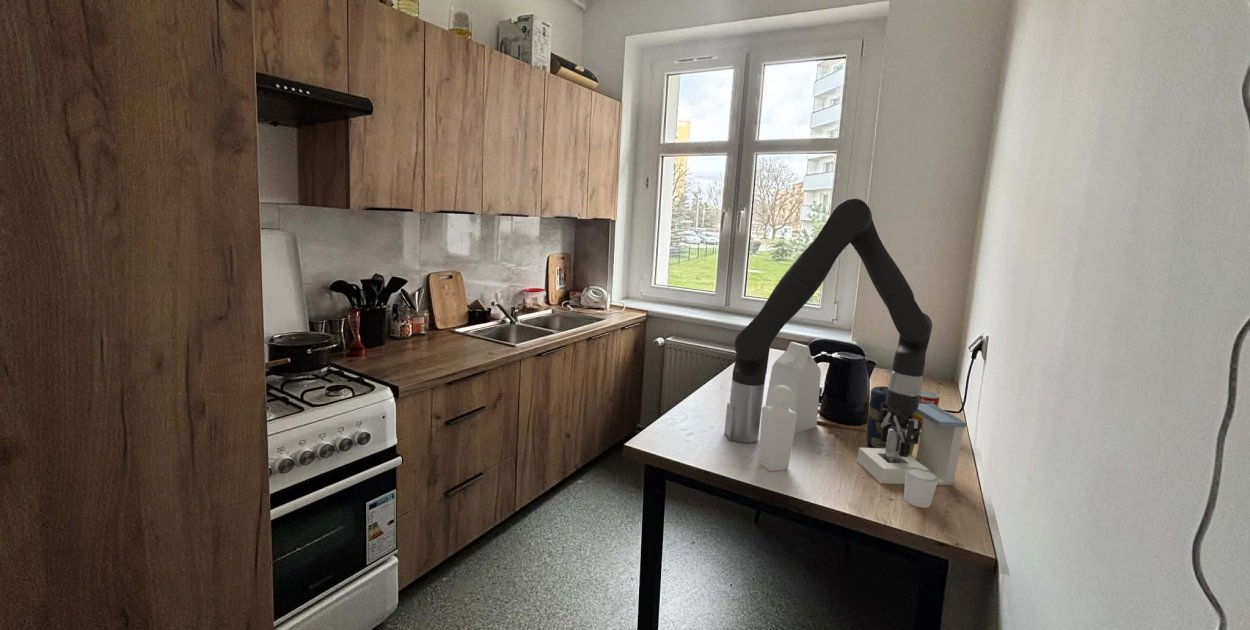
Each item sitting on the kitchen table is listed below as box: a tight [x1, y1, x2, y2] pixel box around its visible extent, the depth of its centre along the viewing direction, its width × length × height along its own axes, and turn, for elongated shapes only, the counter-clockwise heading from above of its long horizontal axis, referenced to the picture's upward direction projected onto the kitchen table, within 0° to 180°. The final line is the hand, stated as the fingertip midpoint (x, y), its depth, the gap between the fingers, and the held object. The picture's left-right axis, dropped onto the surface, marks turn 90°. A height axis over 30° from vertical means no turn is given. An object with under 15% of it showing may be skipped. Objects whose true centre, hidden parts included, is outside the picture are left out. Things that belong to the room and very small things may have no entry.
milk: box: [764, 341, 822, 434], centre depth 167 cm, size 12×12×26 cm
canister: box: [865, 385, 895, 448], centre depth 155 cm, size 10×10×18 cm
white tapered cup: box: [903, 468, 938, 509], centre depth 125 cm, size 7×7×7 cm
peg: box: [884, 426, 906, 463], centre depth 139 cm, size 4×4×12 cm
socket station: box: [856, 404, 967, 486], centre depth 138 cm, size 19×13×17 cm
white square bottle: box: [757, 385, 797, 472], centre depth 137 cm, size 6×6×22 cm
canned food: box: [913, 389, 940, 429], centre depth 171 cm, size 8×8×12 cm
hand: (893, 448), depth 138 cm, fingers open, 8 cm apart
